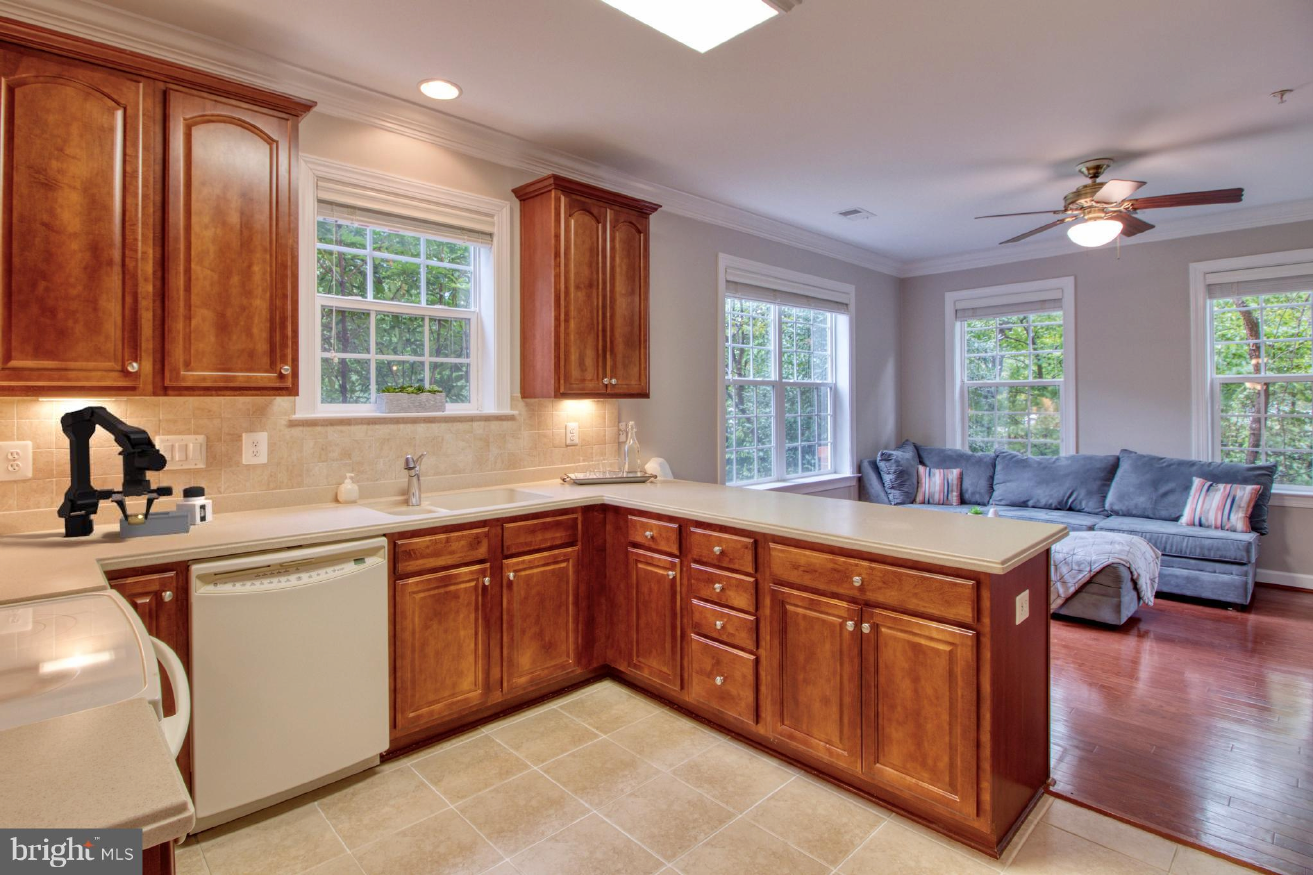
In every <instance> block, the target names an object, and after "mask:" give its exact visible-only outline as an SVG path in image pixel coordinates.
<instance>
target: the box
mask: <svg viewBox="0 0 1313 875" xmlns="http://www.w3.org/2000/svg"><path fill="white" fill-rule="evenodd" d="M134 513H135V512H134ZM134 513H130V514H134ZM189 529H191V525H190V510H176V509H175V510H163V511H150V512H149V515H148V518H147V520H146V523H145V524H141V525H128V522H127V521H126V520H125V518H124V516H123V515H122V516H121V517H120V519H119V539H126V538H128V539H129V538H139V537H140V538H141V537H152V536H154V537H155V536H164V535H174V533H178V534H188V533H190V530H189Z"/></svg>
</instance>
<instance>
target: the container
mask: <svg viewBox="0 0 1313 875" xmlns="http://www.w3.org/2000/svg"><path fill="white" fill-rule="evenodd" d="M182 500H183V501H179V502H176V503H175V510H190V524H191V525H190V526H198V525H203V524H206V522H207V523H211V522H213V502H212V500H211V499H206V490H205V486H202V485H201V486H200V485H199V486H198V485H193V486H192V485H191V486H186V487H183V488H182ZM197 524H198V525H197Z"/></svg>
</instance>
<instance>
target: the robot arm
mask: <svg viewBox="0 0 1313 875" xmlns="http://www.w3.org/2000/svg"><path fill="white" fill-rule="evenodd" d="M59 420H60V425H61V431H62V433H63V434H64V435H65V437H66V439H68V441H69V469H70V470H69V471H70V473H69V475H70V485H69V487H68V488H67V490H66V491H65V493H64V498H63V502H62V503H61V505H60V506H59V508H58V509H57V511H56V513H57V516H58V518H60V519H64V535H63V537H64V538H72V537H82V536H83V537H86V536H91V535H92V534H93V533H94V532H95V524H94V523H95V522H94V521H95V520H94V519H93V518H92V516H93V515H97V514H98V508H99V507H100V506H99V504H100V501H106V500H107V501H108V500H110V503H115V504H116V505H117V507H118V508H119V510H120V512H121V514H122V516H124V518H125V520H126V521H127V515H128V514H129V513H128V509H127V503H126V498H129V497H142V496H147V498H146V503H145V504H146V506H145V511H144V513H145V520H147V518H148V515H149V512H151V509H152V506H153V504H154V503H155V501H156V500H159V499H160V498H162V497H173V494H174V488H173V486H171V485H157V487H156V488H152V484H151V483H152V482H151V479H147V472H160V471H163V470H164V469H165V468H166V467H167V464H168V460H167V458H166V456H165V455H164V454H163V453H160V452H161V451H160V448H157V447H156V444H155V443H154V441H153V440H152V438H151V435H150V434H149V433H148V431H147V430H145V429H144V428H141V427H138V426H134V425H129V424H128V423H126V422H124V421H123V420H122V419H120V418H119V417H117V416H116V415H114V414H113V413H111V411H109V410H108V409H107V408H106V407H105V406H103V405H95V406H94V405H93V406H92V405H91V406H90V405H89V406H86V407H84V408H82V409H77V410H73V411H69V412H65V413H63V415H62V416H61V417H60V419H59ZM97 425H98V426H99V427H100V428H102V429H104V431H106V432H108V433H109V434H110V435H112V436H113V437H114V438H113V441H114V443H115V444H116V445H117V446H119V447H120V449H121V450H120V451H119V452H118V453H117V456H122V459H121V460H122V477H123V481H122V482H121V487H122V488H121V489H122V490H115V487H114V488H99V489H95V487H94V486H93V485H92V483H91V482H92V481H91V478H92V477H91V453H90V451H91V450H90V449H91V448H90V446H91V445H90V439H91V438H92V437H93V435H94V434H95V433H96V427H97Z"/></svg>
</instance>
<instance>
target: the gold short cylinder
mask: <svg viewBox="0 0 1313 875" xmlns="http://www.w3.org/2000/svg"><path fill="white" fill-rule="evenodd" d="M127 514H128V515H127V522H128V525H141V524H145V523H146V520H145V512H136V513H135V512H134V514H131V513H127Z"/></svg>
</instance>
